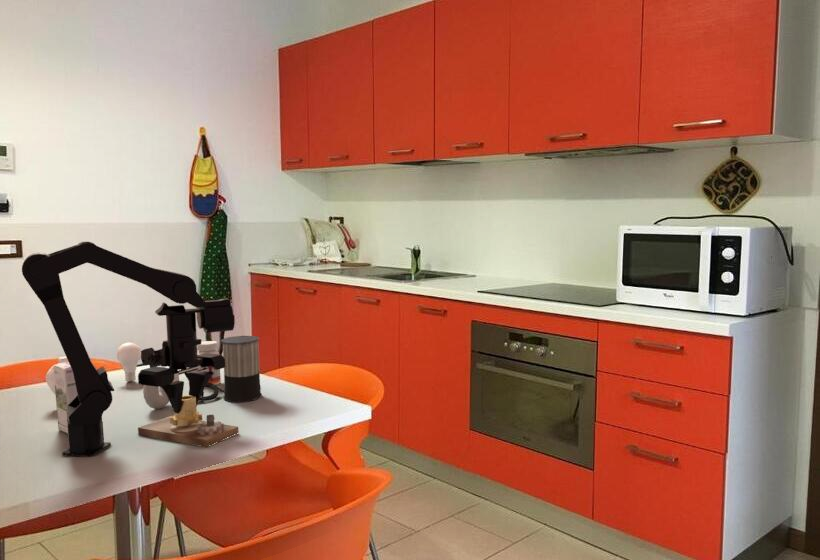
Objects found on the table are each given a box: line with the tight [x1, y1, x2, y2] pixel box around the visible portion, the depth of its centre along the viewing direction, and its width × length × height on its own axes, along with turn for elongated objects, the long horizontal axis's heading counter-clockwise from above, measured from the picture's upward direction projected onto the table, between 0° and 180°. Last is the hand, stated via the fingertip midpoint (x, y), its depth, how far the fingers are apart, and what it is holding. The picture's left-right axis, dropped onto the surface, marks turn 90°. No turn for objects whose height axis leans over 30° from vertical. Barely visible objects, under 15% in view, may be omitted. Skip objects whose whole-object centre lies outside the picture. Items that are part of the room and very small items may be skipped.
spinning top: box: [45, 356, 68, 396], centre depth 164 cm, size 8×8×12 cm
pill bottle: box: [197, 340, 222, 386], centre depth 183 cm, size 6×6×11 cm
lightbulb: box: [115, 341, 142, 383], centre depth 187 cm, size 6×6×11 cm
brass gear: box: [170, 394, 203, 426], centre depth 141 cm, size 6×6×5 cm
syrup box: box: [52, 361, 78, 435], centre depth 145 cm, size 6×6×14 cm
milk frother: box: [188, 335, 263, 403], centre depth 168 cm, size 14×16×15 cm
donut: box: [142, 366, 170, 410], centre depth 161 cm, size 10×4×10 cm, turn 168°
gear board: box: [137, 414, 240, 448], centre depth 141 cm, size 19×9×6 cm, turn 63°
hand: (185, 409), depth 141 cm, fingers closed on brass gear, 4 cm apart
